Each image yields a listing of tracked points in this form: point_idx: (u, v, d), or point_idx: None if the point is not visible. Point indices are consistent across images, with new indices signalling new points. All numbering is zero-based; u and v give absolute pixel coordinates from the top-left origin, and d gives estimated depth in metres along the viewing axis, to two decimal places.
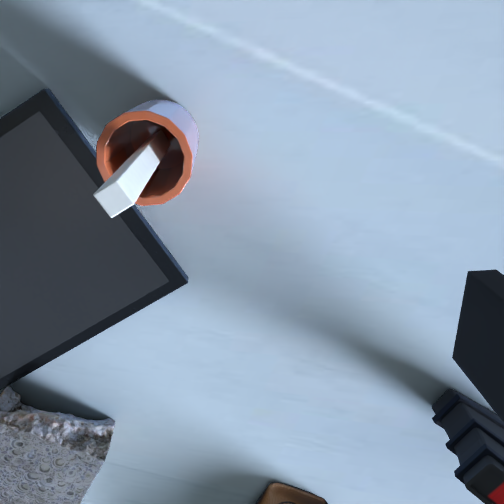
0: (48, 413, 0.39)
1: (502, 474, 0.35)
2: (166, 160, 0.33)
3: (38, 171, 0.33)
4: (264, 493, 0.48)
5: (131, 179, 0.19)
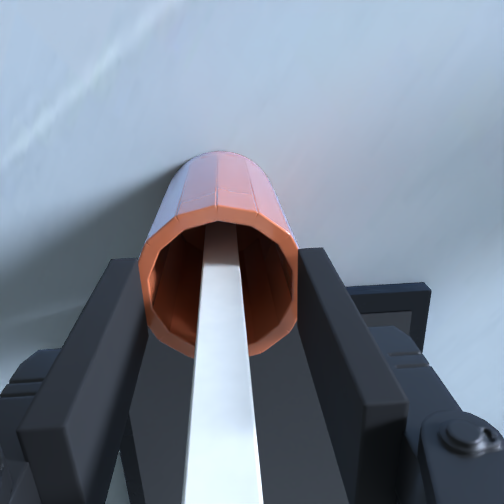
0: None
1: None
2: None
3: (181, 371, 0.24)
4: None
5: (214, 434, 0.08)
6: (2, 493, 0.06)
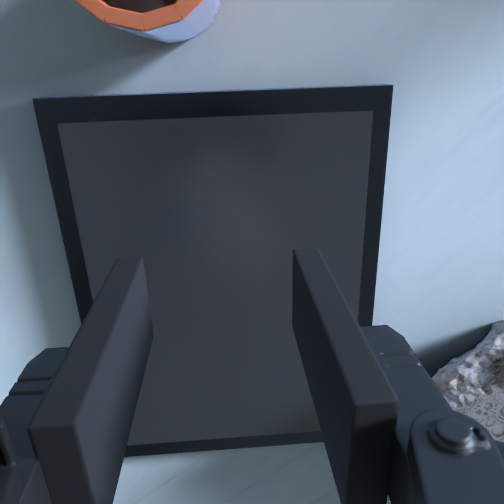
0: None
1: None
2: None
3: (131, 178, 0.23)
4: None
5: None
6: (14, 491, 0.06)
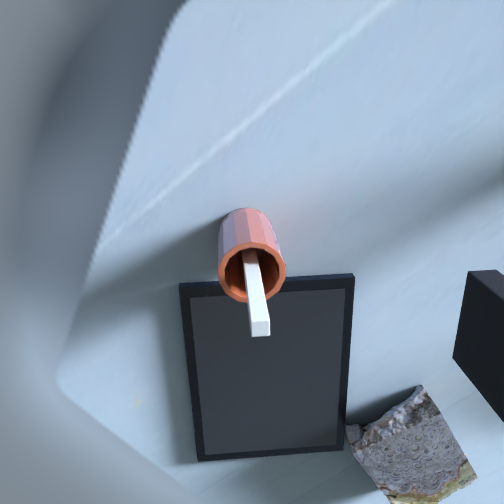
0: (380, 420, 0.50)
1: None
2: None
3: (223, 320, 0.46)
4: None
5: (256, 307, 0.29)
6: None
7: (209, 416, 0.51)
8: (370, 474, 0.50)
